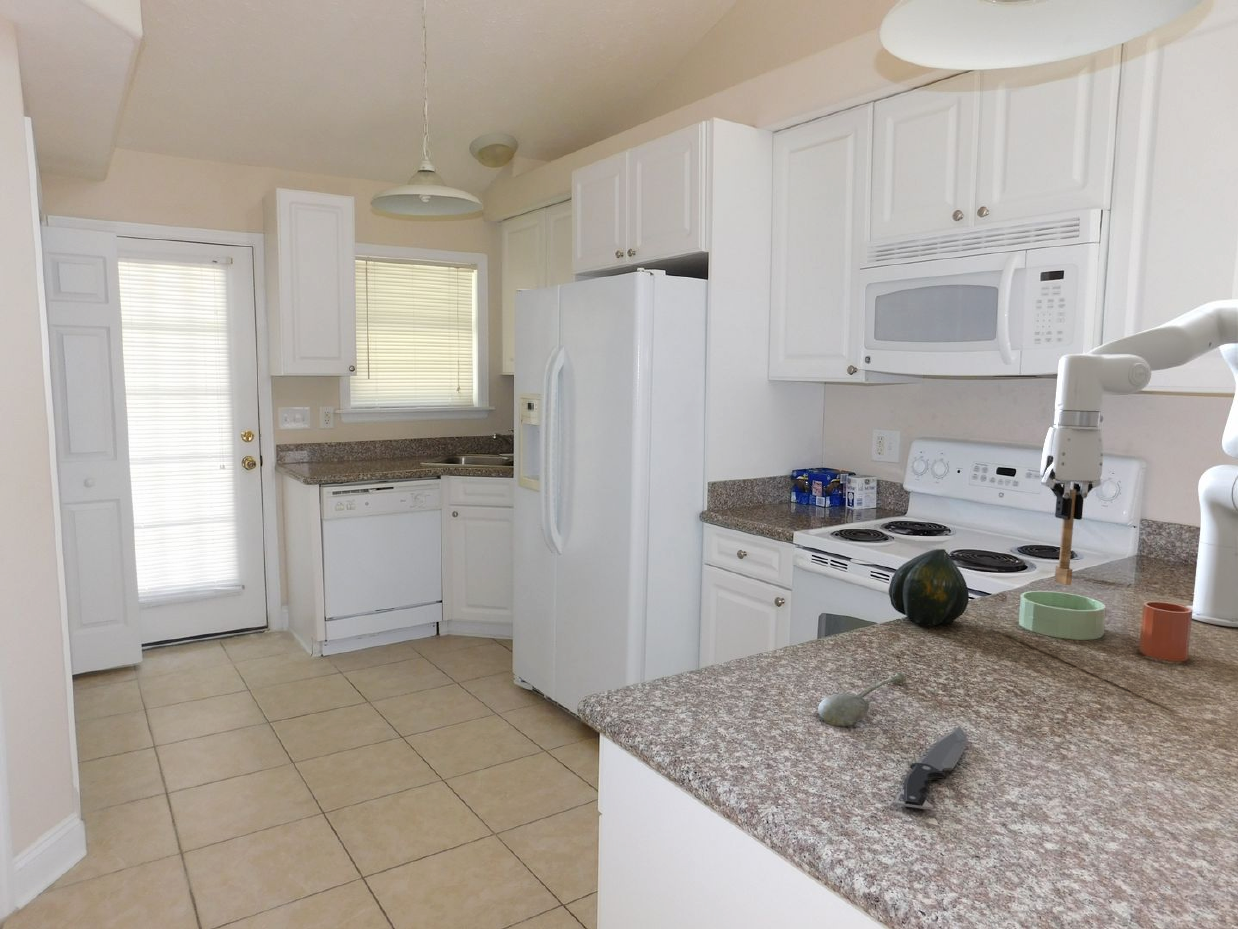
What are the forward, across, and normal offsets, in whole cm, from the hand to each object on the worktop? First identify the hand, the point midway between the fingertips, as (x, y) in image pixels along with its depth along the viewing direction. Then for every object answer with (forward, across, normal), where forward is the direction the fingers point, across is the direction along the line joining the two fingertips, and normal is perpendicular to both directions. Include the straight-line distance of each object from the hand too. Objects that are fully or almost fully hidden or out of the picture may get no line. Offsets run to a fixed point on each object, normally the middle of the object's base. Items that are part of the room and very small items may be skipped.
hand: (1068, 517), depth 152 cm
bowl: (+22, 0, 0) cm, 22 cm away
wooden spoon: (+13, 0, 0) cm, 13 cm away
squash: (+22, +22, -10) cm, 33 cm away
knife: (+22, +57, +46) cm, 76 cm away
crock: (+22, -7, +16) cm, 28 cm away
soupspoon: (+23, +55, +26) cm, 65 cm away
